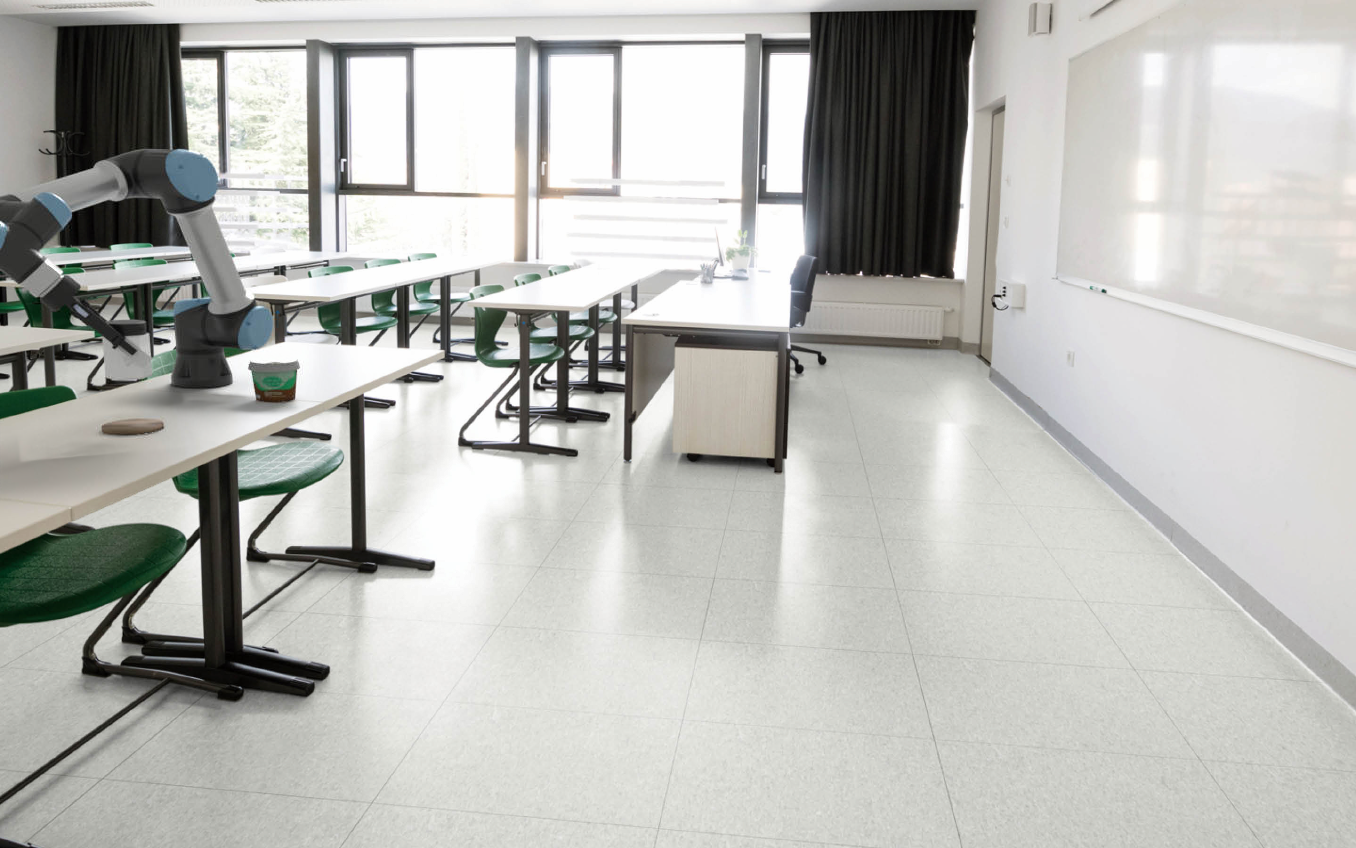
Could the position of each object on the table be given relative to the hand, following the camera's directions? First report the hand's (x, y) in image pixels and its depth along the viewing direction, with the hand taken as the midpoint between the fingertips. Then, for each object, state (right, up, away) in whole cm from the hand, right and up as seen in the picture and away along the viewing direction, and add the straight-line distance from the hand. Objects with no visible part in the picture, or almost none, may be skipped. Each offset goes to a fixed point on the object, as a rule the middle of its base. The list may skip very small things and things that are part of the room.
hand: (145, 359), depth 220 cm
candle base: (-3, -15, +2) cm, 16 cm away
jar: (-3, -4, -1) cm, 5 cm away
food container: (+14, -8, +36) cm, 40 cm away
